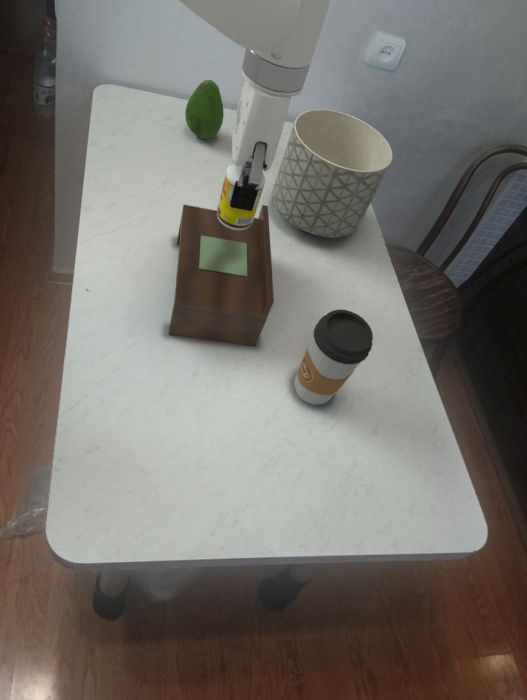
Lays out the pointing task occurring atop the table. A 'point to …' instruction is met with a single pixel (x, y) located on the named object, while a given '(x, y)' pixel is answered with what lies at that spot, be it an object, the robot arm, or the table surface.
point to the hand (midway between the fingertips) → (240, 192)
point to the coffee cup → (332, 355)
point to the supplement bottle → (225, 213)
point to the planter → (330, 172)
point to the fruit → (205, 110)
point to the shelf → (222, 278)
